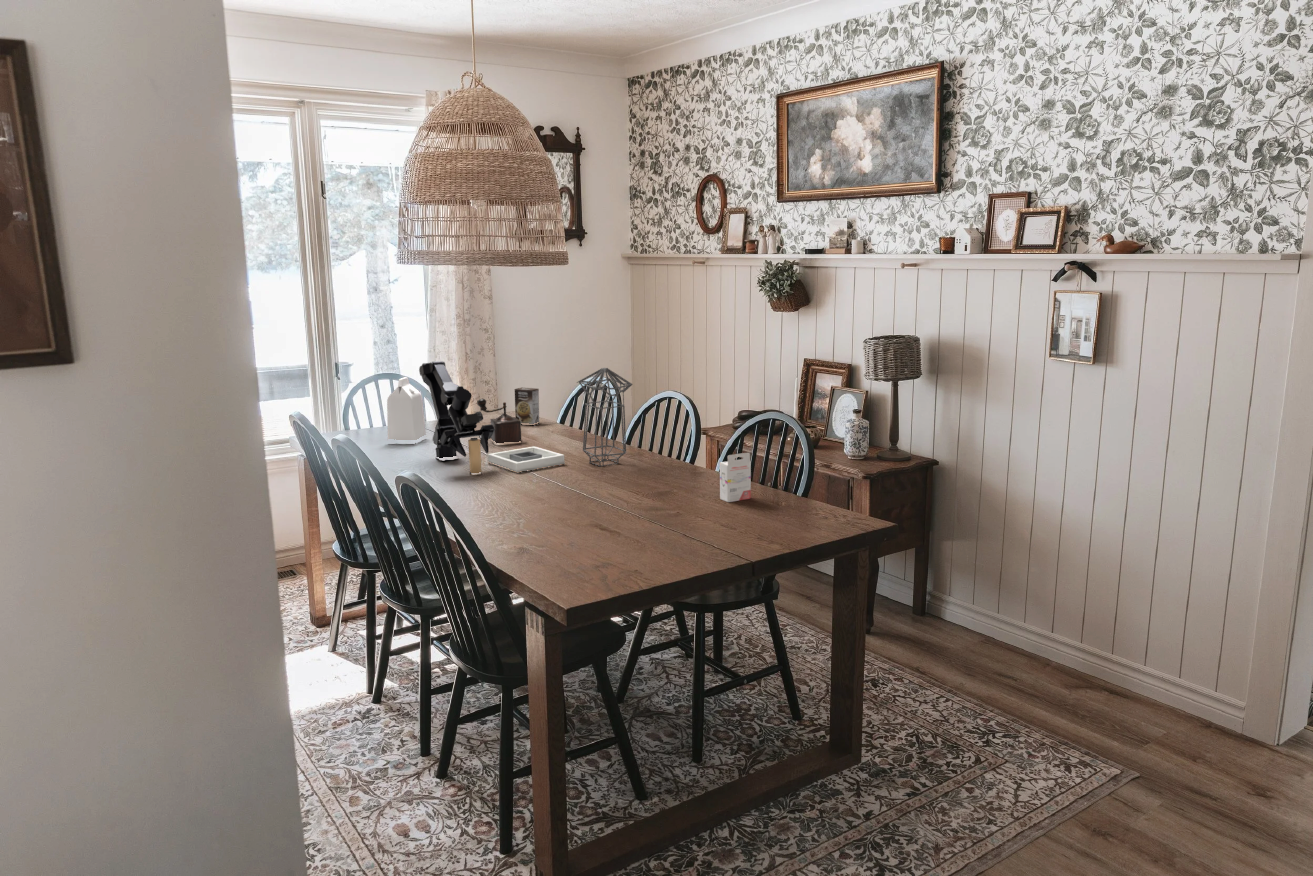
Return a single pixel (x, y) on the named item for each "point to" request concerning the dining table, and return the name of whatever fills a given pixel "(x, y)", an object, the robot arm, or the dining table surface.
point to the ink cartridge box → (735, 478)
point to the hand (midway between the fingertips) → (476, 454)
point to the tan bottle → (474, 455)
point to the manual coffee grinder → (503, 425)
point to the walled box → (526, 458)
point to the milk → (405, 412)
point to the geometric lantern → (628, 384)
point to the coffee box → (527, 405)
